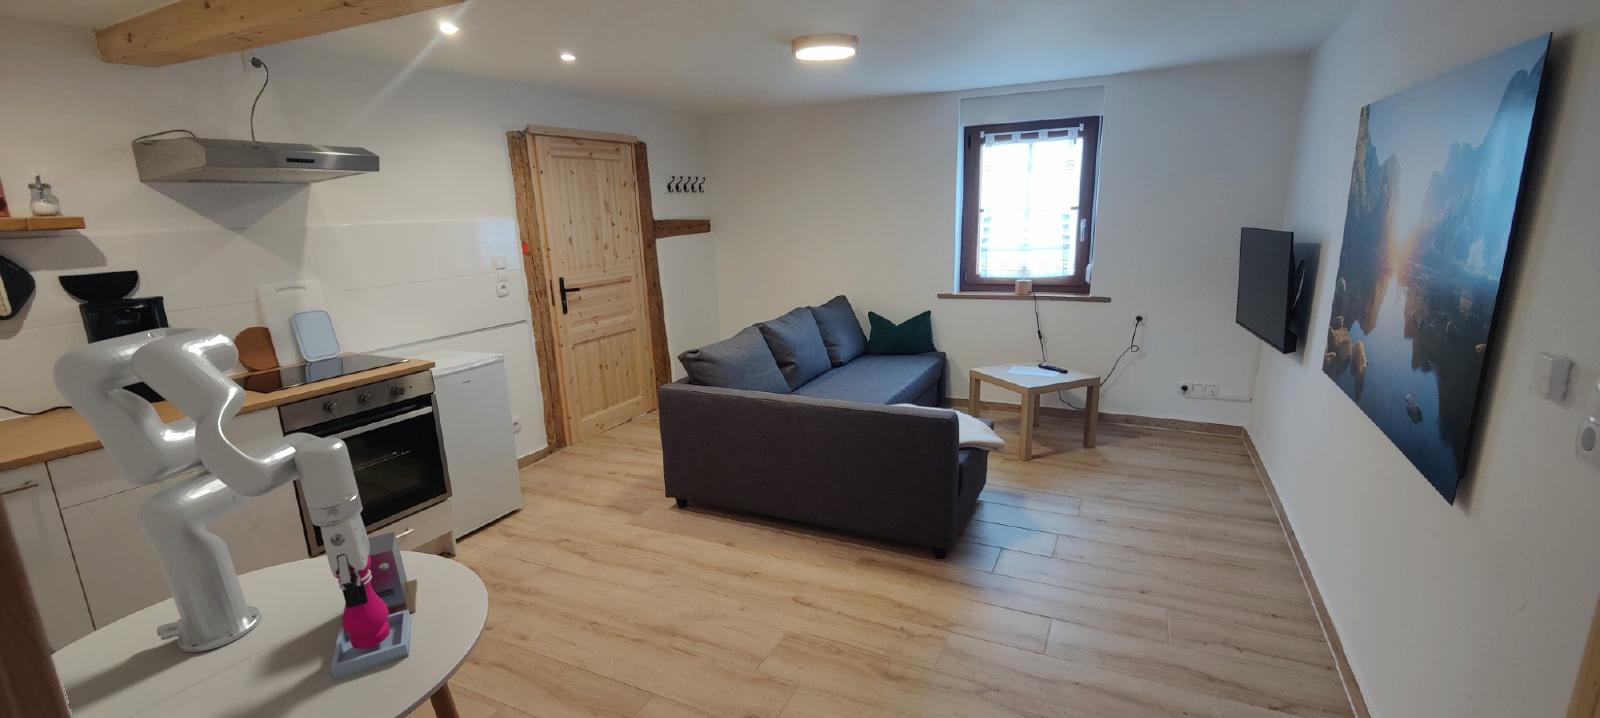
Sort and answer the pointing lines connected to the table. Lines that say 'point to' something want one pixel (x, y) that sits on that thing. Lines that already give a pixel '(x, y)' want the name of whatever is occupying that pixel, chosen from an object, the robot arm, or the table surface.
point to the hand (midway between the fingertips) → (359, 594)
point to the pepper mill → (366, 615)
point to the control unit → (391, 575)
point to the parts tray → (372, 648)
